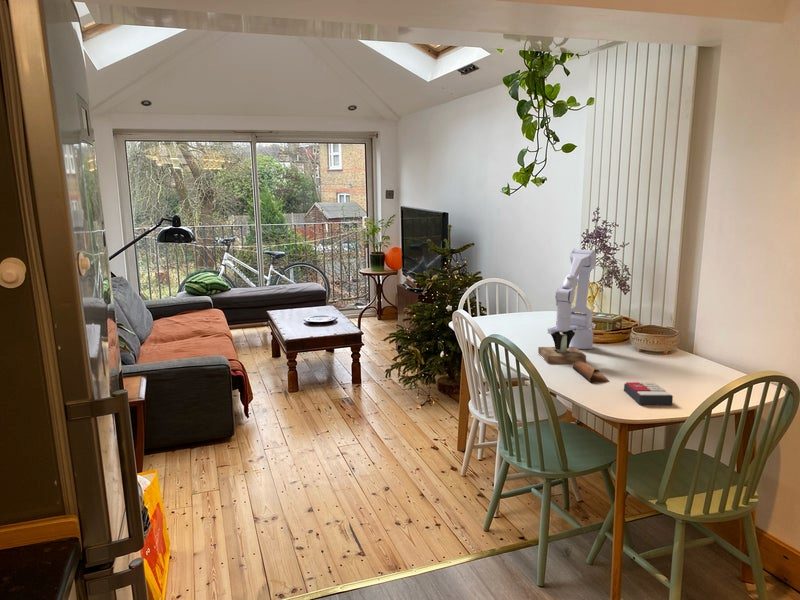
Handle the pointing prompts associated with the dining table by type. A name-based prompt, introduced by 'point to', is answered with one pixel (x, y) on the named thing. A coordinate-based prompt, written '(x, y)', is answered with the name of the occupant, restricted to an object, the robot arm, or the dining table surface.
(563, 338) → the peg
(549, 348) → the peg board
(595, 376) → the brown pointed cylinder
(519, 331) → the dining table surface
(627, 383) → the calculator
